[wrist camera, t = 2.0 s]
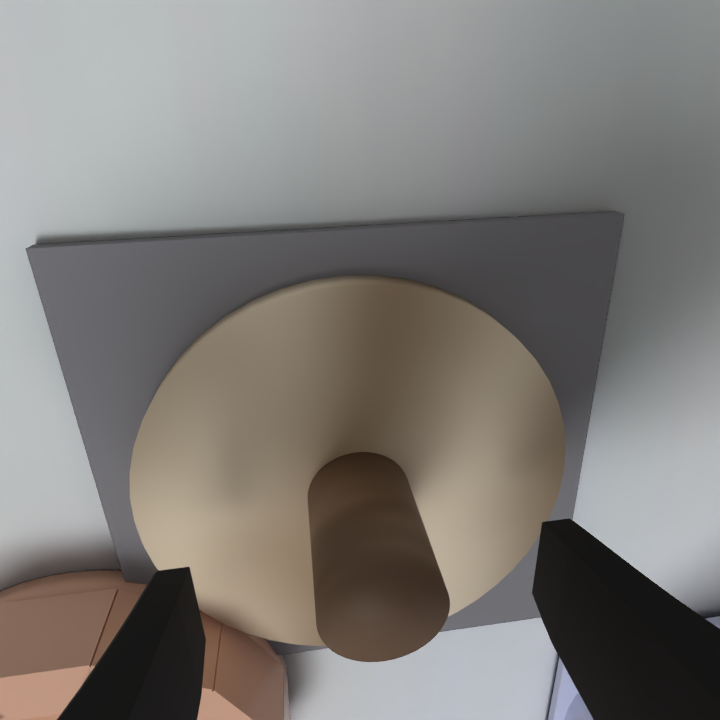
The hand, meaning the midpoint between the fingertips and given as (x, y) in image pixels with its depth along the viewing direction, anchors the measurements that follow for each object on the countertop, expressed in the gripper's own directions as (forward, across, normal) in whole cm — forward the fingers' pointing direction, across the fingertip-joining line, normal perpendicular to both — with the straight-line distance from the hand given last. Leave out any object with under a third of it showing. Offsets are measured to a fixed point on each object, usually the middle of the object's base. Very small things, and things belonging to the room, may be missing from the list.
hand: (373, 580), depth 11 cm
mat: (+4, 0, 0) cm, 4 cm away
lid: (+4, 0, 0) cm, 4 cm away
